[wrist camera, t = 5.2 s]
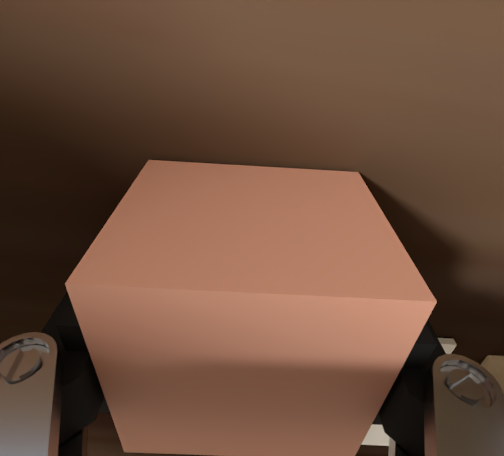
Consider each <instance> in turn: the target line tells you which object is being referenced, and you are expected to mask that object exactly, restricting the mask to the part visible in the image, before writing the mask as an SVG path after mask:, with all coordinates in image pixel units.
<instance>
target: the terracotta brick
mask: <svg viewBox="0 0 504 456" xmlns="http://www.w3.org/2000/svg"><path fill="white" fill-rule="evenodd" d="M65 286H66V289H67V291H68V294H69V297H70V300H71V303H72V306H73V308H74V311H75V314H76V317H77V320H78V323H79V325H80V328H81V331H82V334H83V337H84V340H85V342H86V345H87V348H88V351H89V354H90V356H91V359H92V362H93V365H94V368H95V371H96V373H97V376H98V379H99V382H100V385H101V388H102V390H103V393H104V396H105V399H106V402H107V405H108V407H109V410H110V413H111V416H112V419H113V422H114V424H115V427H116V430H117V433H118V436H119V438H120V441H121V444H122V447H123V450H124V452H133V453H162V454H190V455H218V456H355V455H356V453H357V451H358V449H359V447H360V446H361V444H362V442H363V440H364V438H365V436H366V434H367V432H368V431H369V429H370V427H371V425H372V423H373V421H374V419H375V417H376V415H377V414H378V412H379V410H380V408H381V406H382V404H383V402H384V400H385V399H386V397H387V395H388V393H389V391H390V389H391V387H392V385H393V384H394V382H395V380H396V378H397V376H398V374H399V372H400V370H401V369H402V367H403V365H404V363H405V361H406V359H407V357H408V355H409V353H410V352H411V350H412V348H413V346H414V344H415V342H416V340H417V338H418V337H419V335H420V333H421V331H422V329H423V327H424V325H425V323H426V322H427V320H428V318H429V316H430V314H431V312H432V310H433V308H434V307H435V305H436V303H437V301H436V299H435V298H434V296H433V294H432V293H431V291H430V289H429V288H428V286H427V284H426V283H425V281H424V280H423V278H422V276H421V275H420V273H419V271H418V270H417V268H416V266H415V265H414V263H413V261H412V260H411V258H410V256H409V255H408V253H407V251H406V250H405V248H404V247H403V245H402V243H401V242H400V240H399V238H398V237H397V235H396V233H395V232H394V230H393V228H392V227H391V225H390V223H389V222H388V220H387V218H386V217H385V215H384V214H383V212H382V210H381V209H380V207H379V205H378V204H377V202H376V200H375V199H374V197H373V195H372V194H371V192H370V190H369V189H368V187H367V185H366V184H365V182H364V181H363V179H362V177H361V176H360V174H359V172H348V171H331V170H314V169H297V168H280V167H263V166H245V165H228V164H211V163H194V162H177V161H160V160H148V162H147V163H146V164H145V166H144V167H143V169H142V170H141V172H140V173H139V175H138V176H137V178H136V179H135V181H134V182H133V184H132V185H131V187H130V188H129V190H128V191H127V193H126V194H125V196H124V197H123V198H122V200H121V201H120V203H119V204H118V206H117V207H116V209H115V210H114V212H113V213H112V215H111V216H110V218H109V219H108V221H107V222H106V224H105V225H104V227H103V228H102V230H101V231H100V232H99V234H98V235H97V237H96V238H95V240H94V241H93V243H92V244H91V246H90V247H89V249H88V250H87V252H86V253H85V255H84V256H83V258H82V259H81V261H80V262H79V264H78V265H77V266H76V268H75V269H74V271H73V272H72V274H71V275H70V277H69V278H68V280H67V281H66V283H65Z"/></svg>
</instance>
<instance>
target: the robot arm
mask: <svg viewBox="0 0 504 456" xmlns="http://www.w3.org/2000/svg"><path fill="white" fill-rule="evenodd" d="M98 412H103V413H110V410H109V407H108V405H107V402H106V399H105V396H104V393H103V390H102V388H101V385H100V382H99V379H98V376H97V373H96V371H95V368H94V365H93V362H92V359H91V356H90V354H89V351H88V348H87V345H86V342H85V340H84V337H83V334H82V331H81V328H80V325H79V323H78V320H77V317H76V314H75V311H74V308H73V306H72V303H71V300H70V297H69V294H68V291H67V293H66V295H65V296H64V298H63V299H62V301H61V302H60V304H59V305H58V307H57V308H56V310H55V311H54V313H53V315H52V316H51V318H50V319H49V321H48V322H47V324H46V325H45V327H44V328H43V330H42V332H41V333H38V332H31V333H24V334H21V335H18V336H14V337H12V338H10V339H8V340H6V341H4V342H2V343H1V344H0V456H88V425H89V424H90V423H92V422H93V421H95V420H96V417H97V414H98ZM372 424H374V425H382V426H383V429H384V432H385V433H386V434H387V435H388V436H389V453H388V456H504V393H503V391H502V388H501V386H500V385H499V383H498V382H497V380H496V379H495V378H494V376H493V375H492V374H491V373H490V372H488V371H487V370H486V369H485V368H484V367H483V366H481V365H480V364H478V363H477V362H475V361H473V360H471V359H469V358H467V357H465V356H461V355H457V354H446V353H445V351H444V349H443V347H442V345H441V343H440V342H439V340H438V338H437V336H436V334H435V332H434V331H433V329H432V327H431V325H430V323H429V321H428V320H427V322H426V323H425V325H424V327H423V329H422V331H421V333H420V335H419V337H418V338H417V340H416V342H415V344H414V346H413V348H412V350H411V352H410V353H409V355H408V357H407V359H406V361H405V363H404V365H403V367H402V369H401V370H400V372H399V374H398V376H397V378H396V380H395V382H394V384H393V385H392V387H391V389H390V391H389V393H388V395H387V397H386V399H385V400H384V402H383V404H382V406H381V408H380V410H379V412H378V414H377V415H376V417H375V419H374V421H373V423H372Z"/></svg>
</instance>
